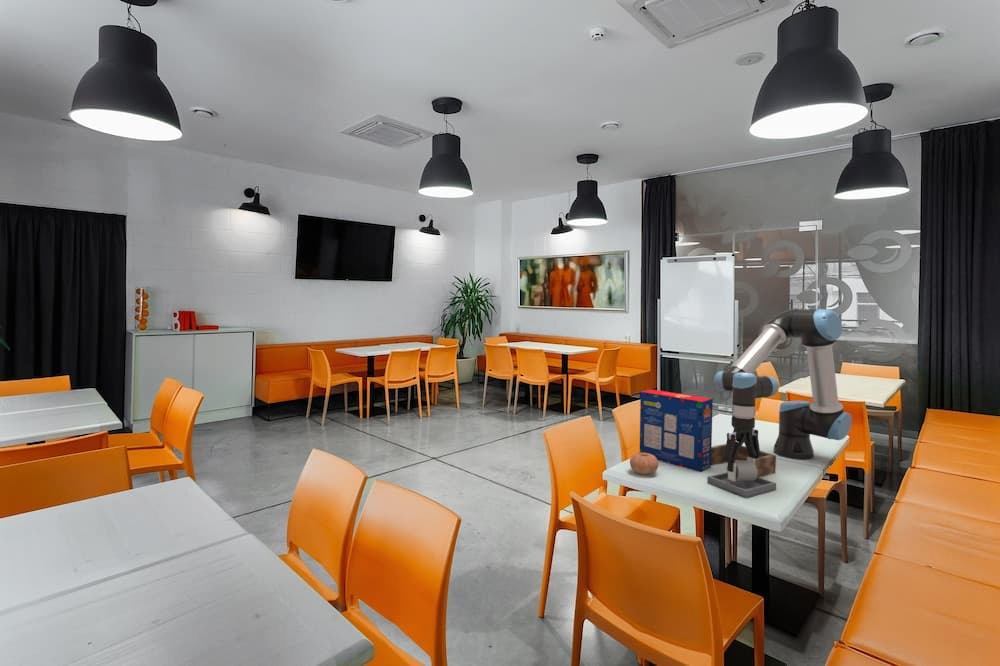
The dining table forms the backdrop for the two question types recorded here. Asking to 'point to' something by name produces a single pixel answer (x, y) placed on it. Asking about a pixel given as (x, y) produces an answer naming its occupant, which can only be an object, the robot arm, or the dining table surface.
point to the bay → (764, 462)
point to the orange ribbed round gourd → (644, 463)
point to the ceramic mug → (745, 471)
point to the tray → (742, 485)
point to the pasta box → (676, 428)
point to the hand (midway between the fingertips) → (741, 477)
